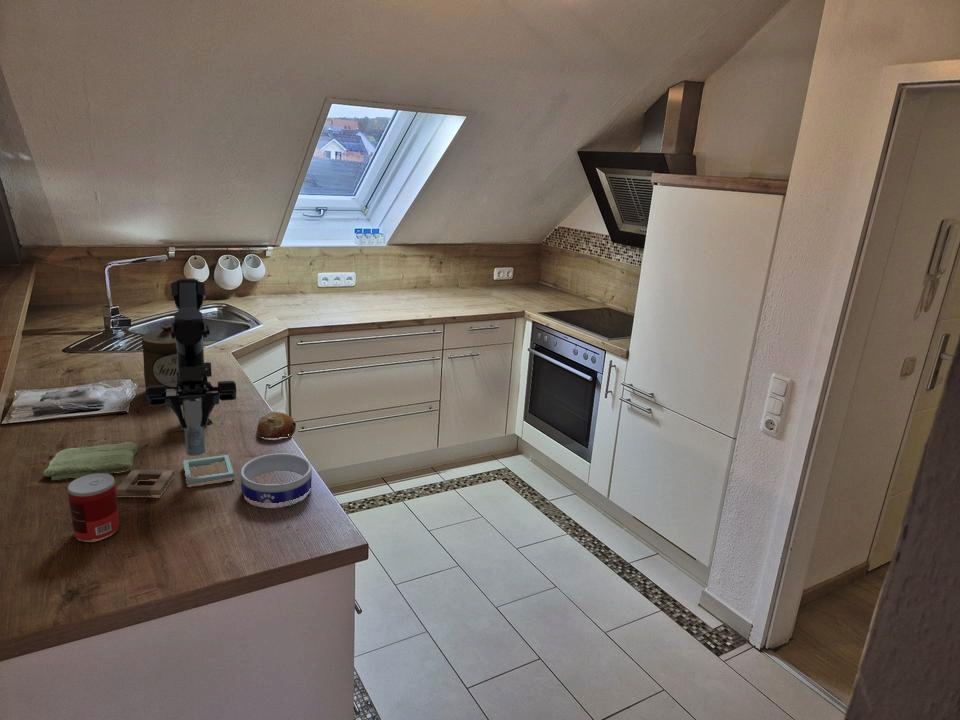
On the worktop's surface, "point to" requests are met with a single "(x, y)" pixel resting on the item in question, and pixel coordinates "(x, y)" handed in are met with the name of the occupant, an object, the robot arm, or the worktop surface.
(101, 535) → the canned food
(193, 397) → the steel pin
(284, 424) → the bread roll
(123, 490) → the walnut collar
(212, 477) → the cradle tray
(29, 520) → the worktop surface
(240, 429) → the worktop surface
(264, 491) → the dog bowl
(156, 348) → the wooden container
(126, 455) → the washcloth
